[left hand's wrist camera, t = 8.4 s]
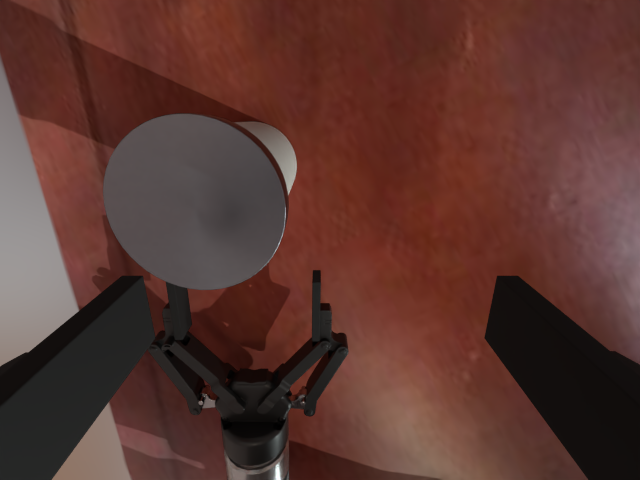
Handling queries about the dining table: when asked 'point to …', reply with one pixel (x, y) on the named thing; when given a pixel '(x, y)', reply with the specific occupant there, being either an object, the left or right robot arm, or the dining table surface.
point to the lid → (196, 200)
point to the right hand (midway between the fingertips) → (246, 274)
